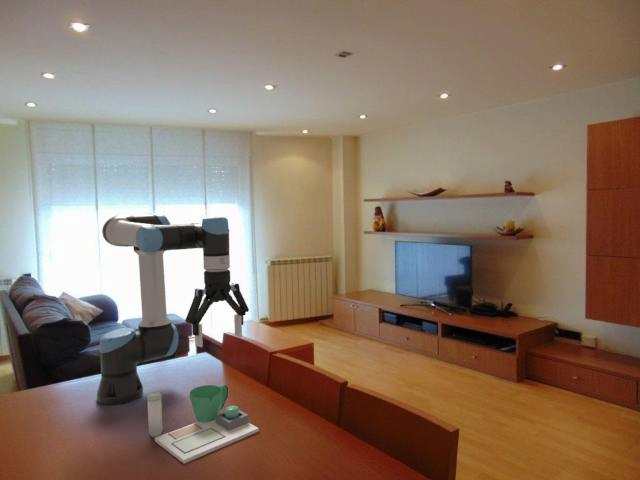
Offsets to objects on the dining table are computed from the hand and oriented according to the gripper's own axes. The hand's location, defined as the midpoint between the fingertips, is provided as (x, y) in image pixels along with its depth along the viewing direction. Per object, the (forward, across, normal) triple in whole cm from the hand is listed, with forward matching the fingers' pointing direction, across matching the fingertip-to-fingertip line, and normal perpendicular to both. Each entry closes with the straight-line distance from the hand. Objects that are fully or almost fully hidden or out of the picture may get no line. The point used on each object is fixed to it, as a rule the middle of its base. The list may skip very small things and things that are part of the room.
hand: (219, 341), depth 138 cm
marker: (+27, -16, +11) cm, 33 cm away
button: (+24, +3, -1) cm, 24 cm away
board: (+27, -6, -1) cm, 27 cm away
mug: (+27, +2, +8) cm, 29 cm away
